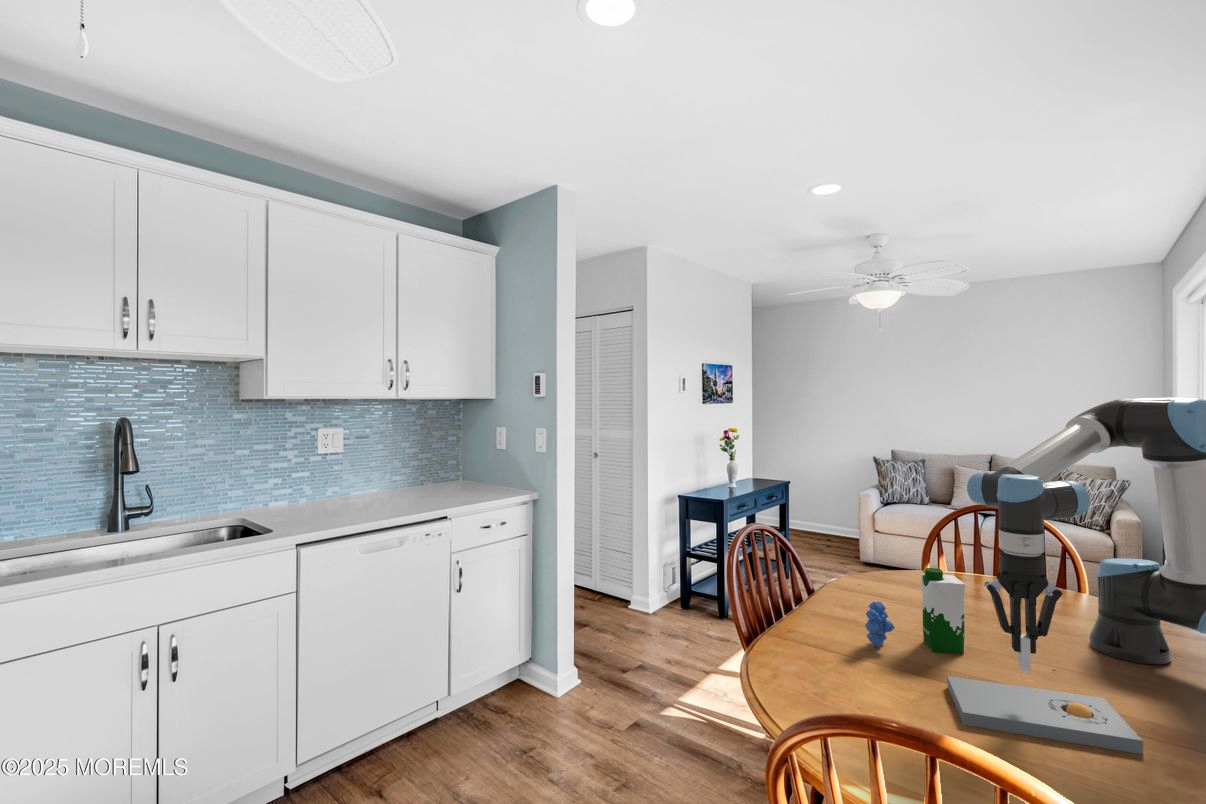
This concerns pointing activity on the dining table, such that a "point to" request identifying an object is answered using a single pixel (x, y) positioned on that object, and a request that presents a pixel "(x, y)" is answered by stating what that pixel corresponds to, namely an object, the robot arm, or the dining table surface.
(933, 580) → the milk carton
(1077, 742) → the plate
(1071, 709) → the ball
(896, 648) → the dining table surface
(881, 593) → the dining table surface
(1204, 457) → the robot arm
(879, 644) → the grapes
